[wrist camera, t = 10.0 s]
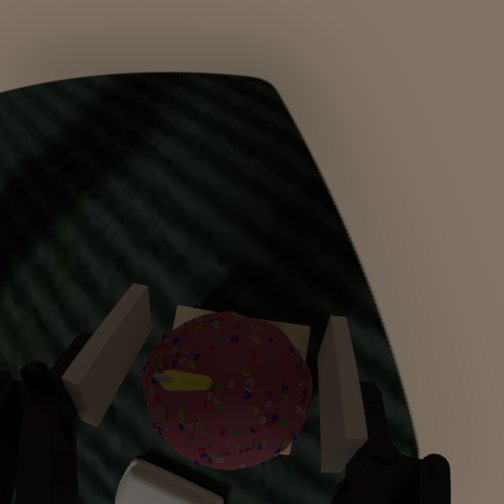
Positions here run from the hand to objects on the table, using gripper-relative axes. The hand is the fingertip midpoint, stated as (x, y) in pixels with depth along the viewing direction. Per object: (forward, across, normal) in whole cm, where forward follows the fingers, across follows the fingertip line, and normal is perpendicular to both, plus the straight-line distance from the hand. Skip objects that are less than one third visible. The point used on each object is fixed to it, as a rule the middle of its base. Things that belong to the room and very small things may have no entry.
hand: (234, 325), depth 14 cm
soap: (-4, -4, -20) cm, 20 cm away
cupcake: (+2, 0, -6) cm, 7 cm away
